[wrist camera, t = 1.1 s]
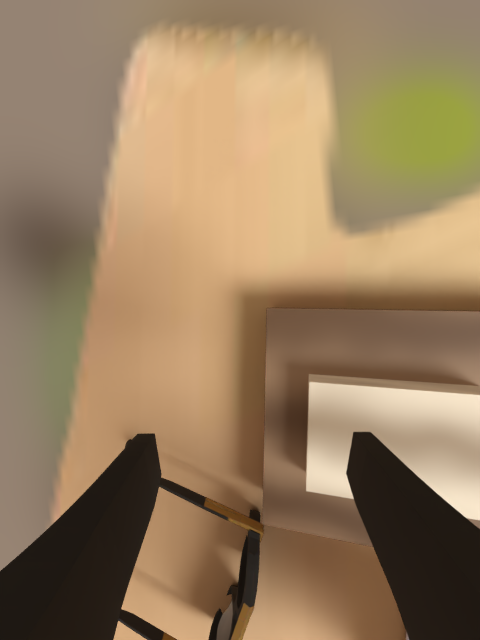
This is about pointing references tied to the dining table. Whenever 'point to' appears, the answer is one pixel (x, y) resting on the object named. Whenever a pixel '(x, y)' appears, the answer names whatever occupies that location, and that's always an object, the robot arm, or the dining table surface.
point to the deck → (349, 361)
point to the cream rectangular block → (397, 433)
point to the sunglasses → (237, 615)
